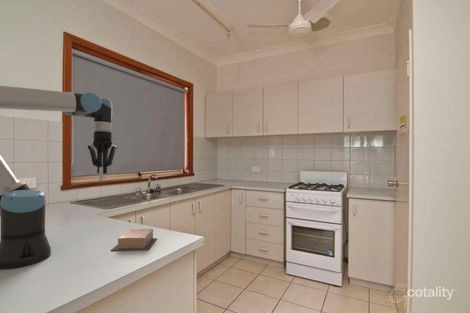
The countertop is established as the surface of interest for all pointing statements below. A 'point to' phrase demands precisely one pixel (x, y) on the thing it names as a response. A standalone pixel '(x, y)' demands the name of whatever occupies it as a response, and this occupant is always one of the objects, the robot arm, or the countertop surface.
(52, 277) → the countertop surface
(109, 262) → the countertop surface
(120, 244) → the tile
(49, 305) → the countertop surface
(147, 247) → the mat
